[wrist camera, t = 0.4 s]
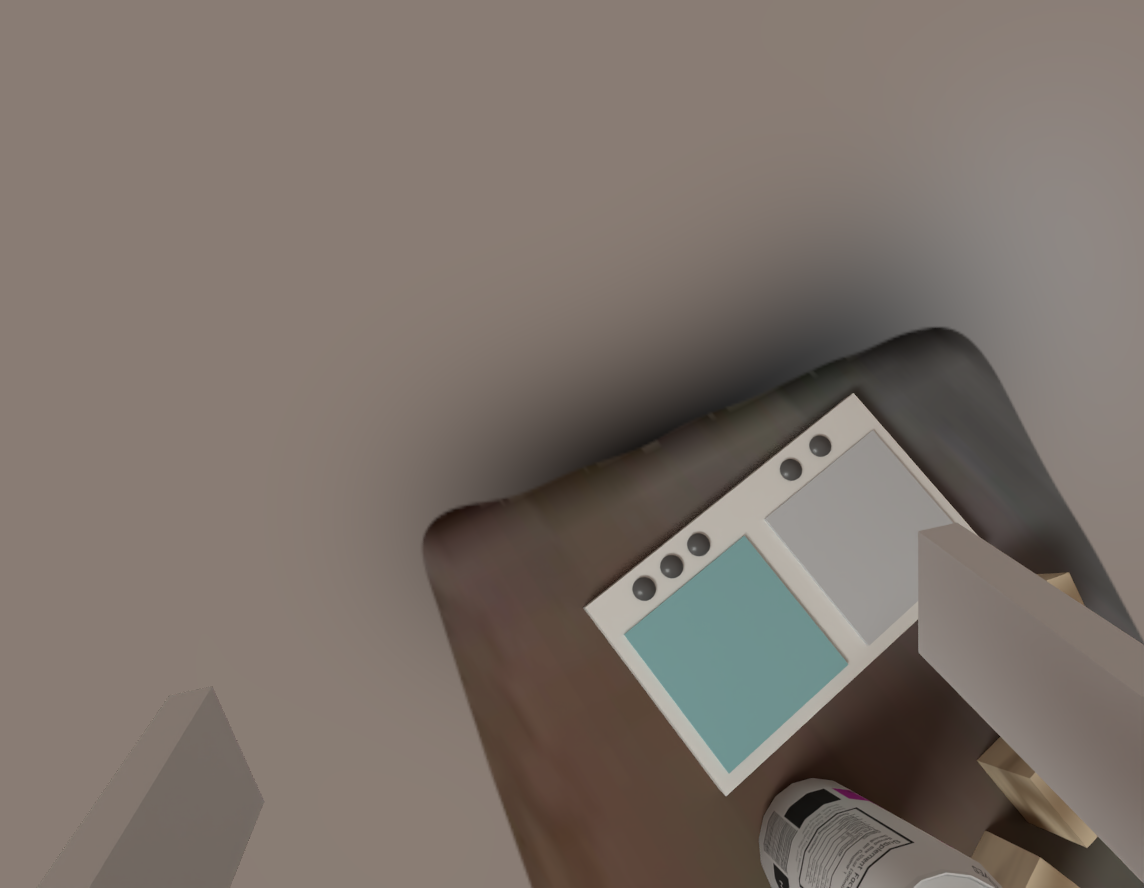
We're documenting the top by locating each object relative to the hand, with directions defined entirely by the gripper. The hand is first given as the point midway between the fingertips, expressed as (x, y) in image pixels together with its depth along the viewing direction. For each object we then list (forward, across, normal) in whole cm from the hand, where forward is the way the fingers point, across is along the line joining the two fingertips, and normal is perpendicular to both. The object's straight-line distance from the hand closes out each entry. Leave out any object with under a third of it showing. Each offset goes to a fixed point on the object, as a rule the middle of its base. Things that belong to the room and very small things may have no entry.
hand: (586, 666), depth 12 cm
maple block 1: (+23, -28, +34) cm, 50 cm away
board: (+30, -15, +20) cm, 39 cm away
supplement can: (+21, -12, +34) cm, 42 cm away
